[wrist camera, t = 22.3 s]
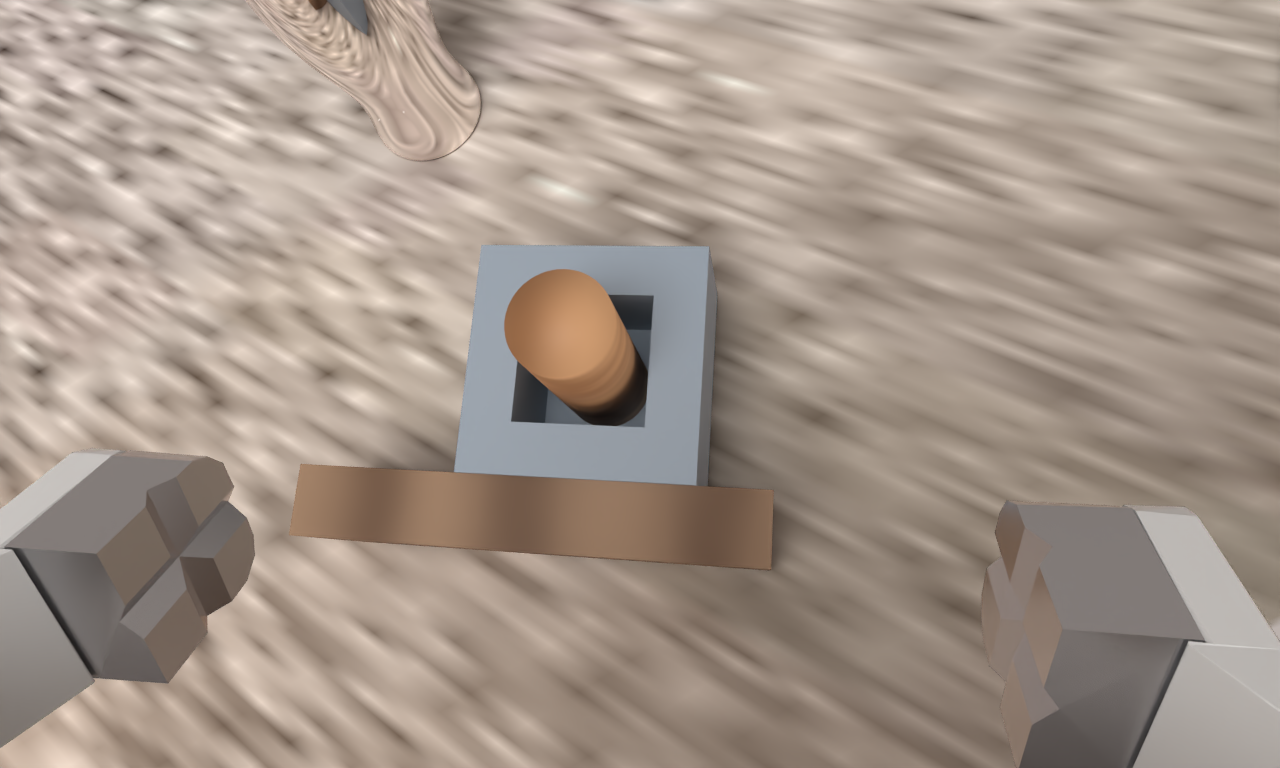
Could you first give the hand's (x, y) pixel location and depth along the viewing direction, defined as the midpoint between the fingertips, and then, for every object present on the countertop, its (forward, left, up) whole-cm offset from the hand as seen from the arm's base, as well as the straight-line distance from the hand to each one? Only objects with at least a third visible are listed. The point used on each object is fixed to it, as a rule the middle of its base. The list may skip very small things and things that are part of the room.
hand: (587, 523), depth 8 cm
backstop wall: (+8, -1, -29) cm, 30 cm away
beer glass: (+17, -23, -30) cm, 42 cm away
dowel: (+6, -8, -28) cm, 30 cm away
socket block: (+6, -8, -29) cm, 31 cm away
